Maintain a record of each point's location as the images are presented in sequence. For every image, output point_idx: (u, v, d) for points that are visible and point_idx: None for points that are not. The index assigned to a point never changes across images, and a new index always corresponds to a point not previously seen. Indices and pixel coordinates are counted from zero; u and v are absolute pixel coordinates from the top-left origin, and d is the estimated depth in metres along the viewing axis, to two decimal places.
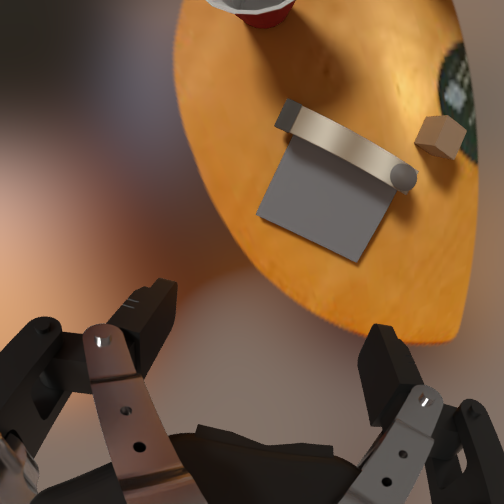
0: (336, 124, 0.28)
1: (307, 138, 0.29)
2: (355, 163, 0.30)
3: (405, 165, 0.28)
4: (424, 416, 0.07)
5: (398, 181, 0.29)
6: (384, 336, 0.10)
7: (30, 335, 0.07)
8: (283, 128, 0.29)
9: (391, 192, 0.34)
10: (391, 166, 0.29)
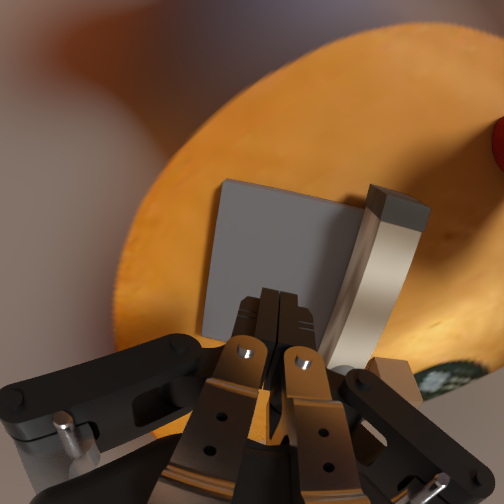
0: (400, 285, 0.19)
1: (374, 249, 0.18)
2: (348, 322, 0.20)
3: None
4: (290, 374, 0.08)
5: None
6: (282, 301, 0.12)
7: (163, 348, 0.08)
8: (385, 210, 0.17)
9: None
10: (352, 364, 0.22)
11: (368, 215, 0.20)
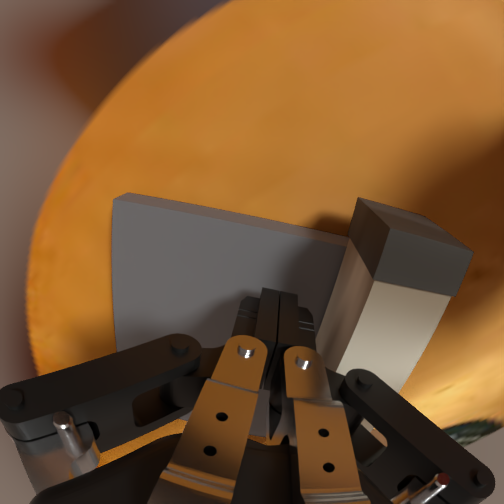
0: (402, 381, 0.10)
1: (359, 331, 0.09)
2: None
3: None
4: (290, 375, 0.08)
5: None
6: (282, 301, 0.12)
7: (163, 348, 0.08)
8: (385, 260, 0.08)
9: (265, 432, 0.18)
10: None
11: (352, 256, 0.11)
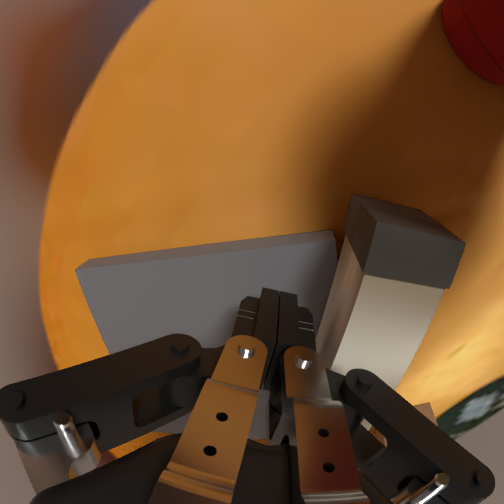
0: (399, 375, 0.10)
1: (352, 325, 0.10)
2: None
3: None
4: (290, 374, 0.08)
5: None
6: (282, 301, 0.12)
7: (163, 348, 0.08)
8: (373, 253, 0.09)
9: None
10: None
11: (347, 252, 0.12)
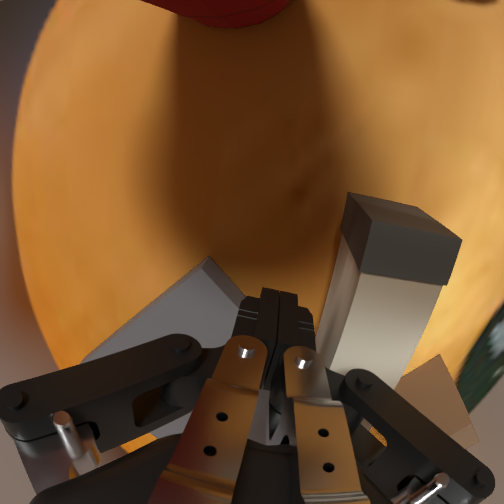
0: (399, 373, 0.10)
1: (350, 324, 0.10)
2: None
3: None
4: (290, 374, 0.08)
5: None
6: (282, 301, 0.12)
7: (163, 348, 0.08)
8: (369, 252, 0.09)
9: None
10: None
11: (345, 250, 0.12)
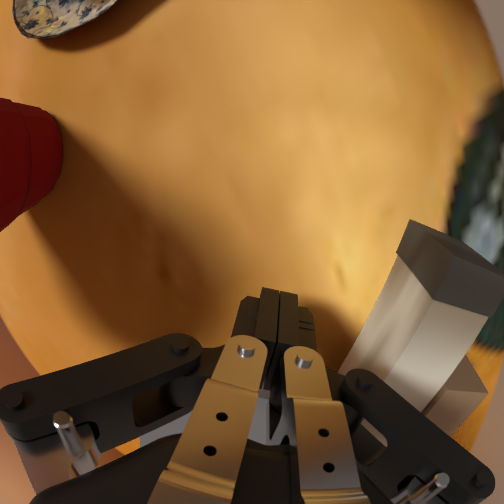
0: (435, 391, 0.10)
1: (411, 345, 0.10)
2: None
3: None
4: (290, 374, 0.08)
5: None
6: (282, 301, 0.12)
7: (162, 348, 0.08)
8: (445, 283, 0.08)
9: None
10: None
11: (403, 274, 0.12)
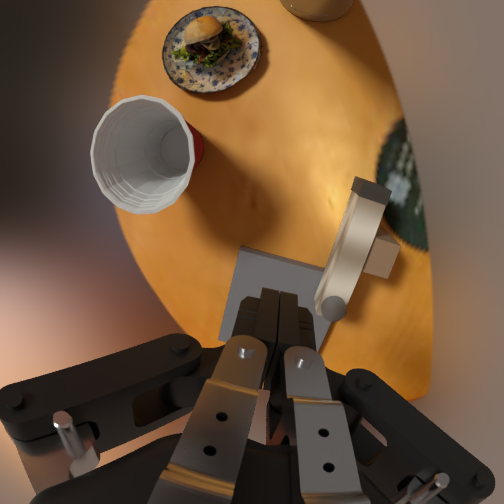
0: (372, 239, 0.31)
1: (355, 214, 0.30)
2: (338, 262, 0.32)
3: (345, 309, 0.33)
4: (290, 374, 0.08)
5: (329, 305, 0.33)
6: (282, 301, 0.12)
7: (163, 348, 0.08)
8: (362, 190, 0.29)
9: None
10: (340, 295, 0.34)
11: (352, 195, 0.32)
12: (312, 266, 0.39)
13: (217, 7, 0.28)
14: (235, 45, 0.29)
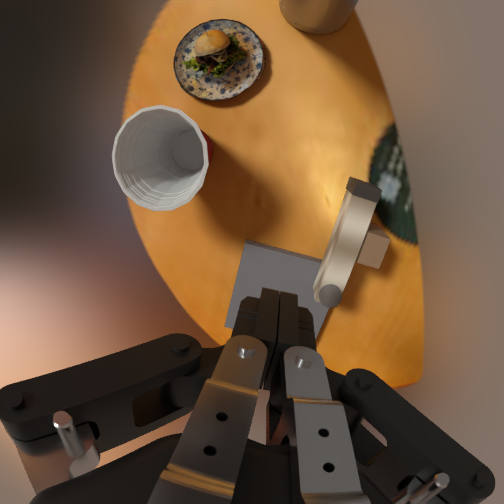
0: (364, 233, 0.35)
1: (349, 211, 0.34)
2: (334, 254, 0.36)
3: (340, 296, 0.37)
4: (290, 374, 0.08)
5: (326, 293, 0.37)
6: (282, 301, 0.12)
7: (163, 348, 0.08)
8: (355, 189, 0.33)
9: None
10: (336, 283, 0.38)
11: (347, 194, 0.36)
12: (311, 257, 0.42)
13: (224, 20, 0.31)
14: (241, 56, 0.33)
